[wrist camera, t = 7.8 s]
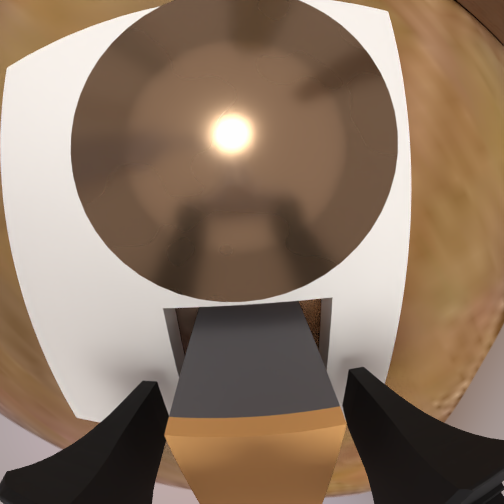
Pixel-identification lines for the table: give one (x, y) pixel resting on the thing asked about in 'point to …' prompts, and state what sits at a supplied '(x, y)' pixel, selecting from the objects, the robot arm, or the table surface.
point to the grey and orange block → (255, 408)
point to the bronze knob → (234, 147)
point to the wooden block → (488, 14)
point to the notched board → (137, 287)
